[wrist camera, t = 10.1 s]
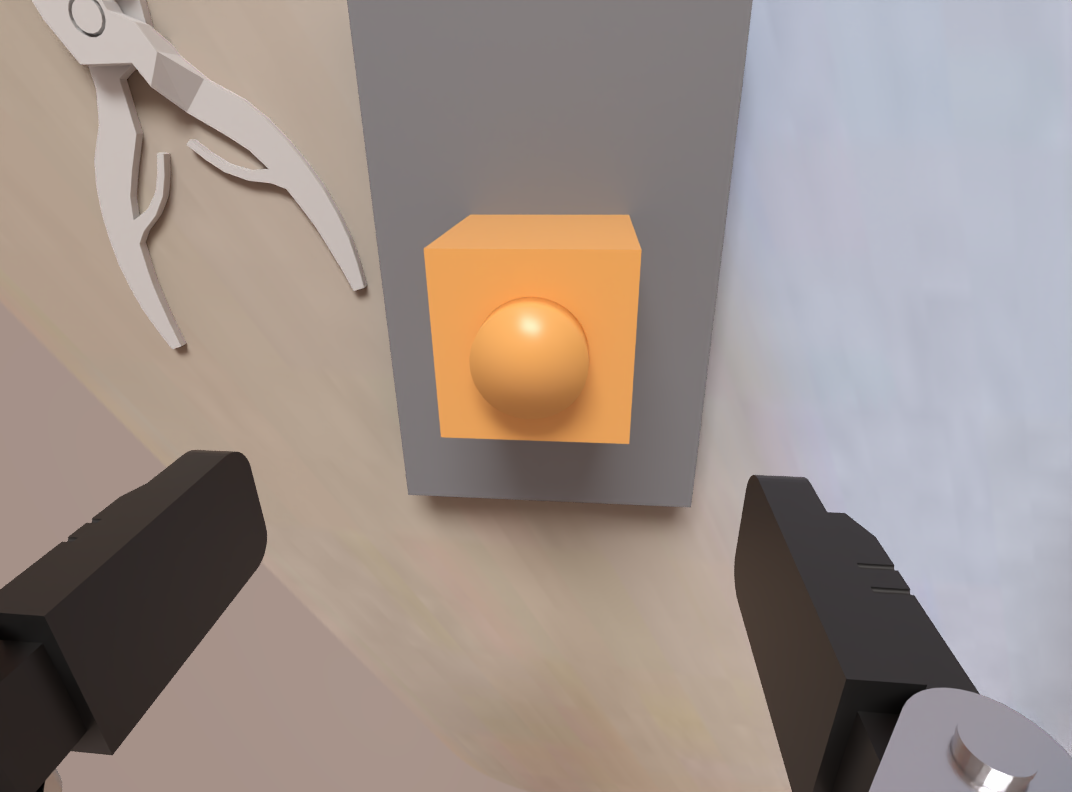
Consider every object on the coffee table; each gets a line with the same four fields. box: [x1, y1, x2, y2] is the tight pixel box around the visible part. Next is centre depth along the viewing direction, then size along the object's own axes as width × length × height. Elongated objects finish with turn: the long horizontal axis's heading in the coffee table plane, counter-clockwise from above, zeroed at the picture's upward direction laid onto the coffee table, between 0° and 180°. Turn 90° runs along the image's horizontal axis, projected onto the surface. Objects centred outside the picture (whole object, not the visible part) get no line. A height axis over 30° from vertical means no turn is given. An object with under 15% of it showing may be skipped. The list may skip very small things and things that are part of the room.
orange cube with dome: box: [424, 215, 642, 444], centre depth 18 cm, size 5×5×7 cm
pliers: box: [32, 0, 367, 349], centre depth 21 cm, size 10×2×15 cm
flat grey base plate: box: [347, 0, 753, 507], centre depth 20 cm, size 12×18×7 cm, turn 0°
